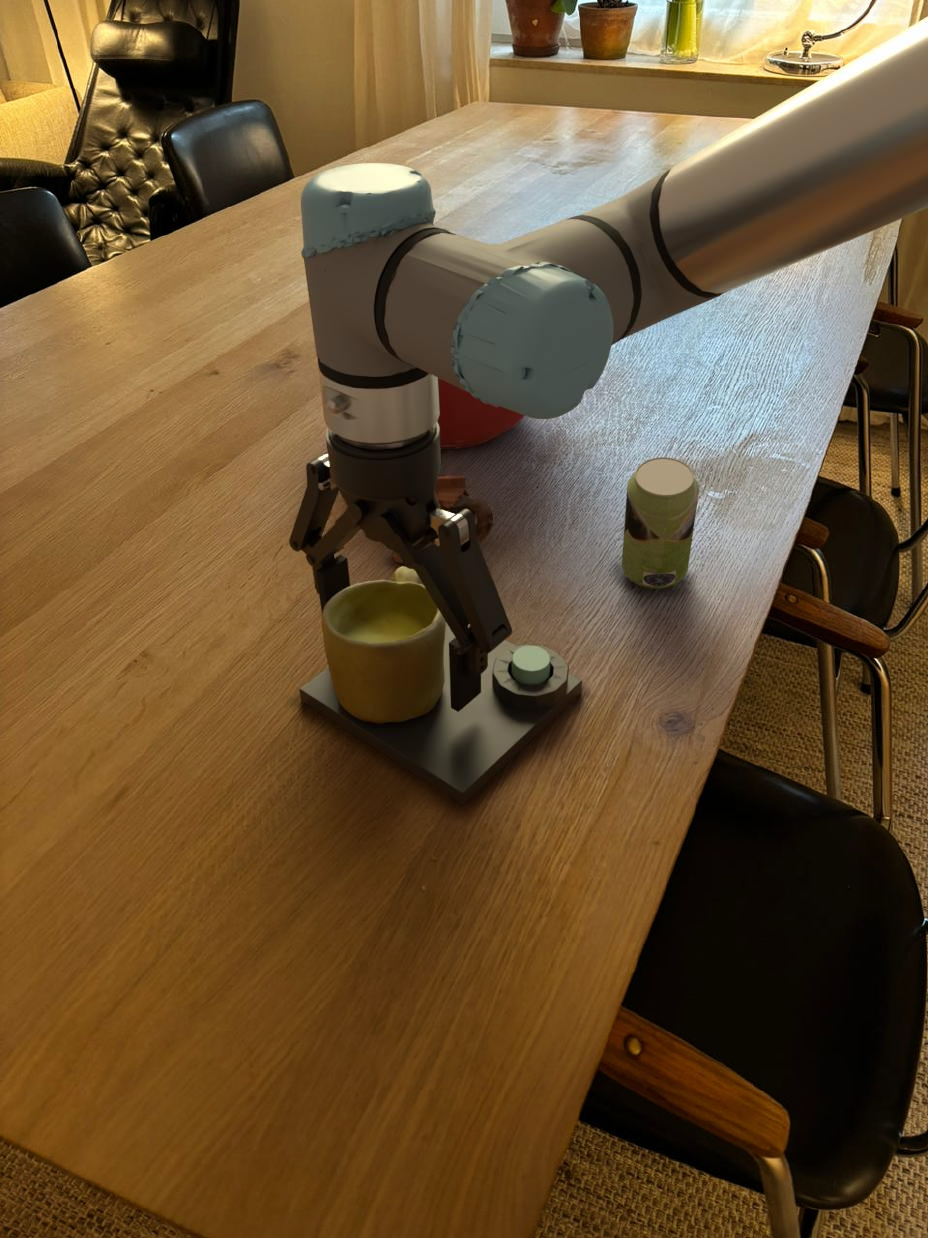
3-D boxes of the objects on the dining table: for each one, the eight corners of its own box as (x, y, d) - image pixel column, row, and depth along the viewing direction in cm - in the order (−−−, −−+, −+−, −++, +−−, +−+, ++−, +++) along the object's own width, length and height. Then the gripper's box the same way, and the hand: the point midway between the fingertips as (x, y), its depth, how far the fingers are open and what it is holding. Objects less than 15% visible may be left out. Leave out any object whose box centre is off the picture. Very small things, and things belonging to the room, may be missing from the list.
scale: (581, 692, 80) (583, 665, 78) (463, 806, 71) (462, 778, 70) (424, 608, 89) (422, 582, 87) (300, 701, 80) (296, 673, 78)
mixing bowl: (309, 381, 123) (293, 256, 113) (529, 353, 128) (533, 231, 118) (346, 503, 102) (331, 363, 92) (607, 464, 107) (620, 327, 97)
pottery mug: (363, 563, 95) (361, 476, 93) (418, 554, 103) (417, 474, 101) (472, 570, 88) (471, 477, 87) (521, 561, 96) (522, 475, 95)
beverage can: (686, 558, 94) (705, 447, 86) (685, 607, 88) (704, 493, 81) (620, 551, 95) (632, 441, 87) (614, 599, 89) (627, 486, 82)
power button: (557, 670, 78) (558, 656, 77) (534, 691, 77) (535, 676, 76) (526, 654, 80) (527, 640, 79) (503, 674, 78) (504, 660, 77)
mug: (429, 745, 72) (396, 619, 68) (316, 737, 77) (280, 619, 73) (500, 667, 81) (475, 553, 78) (396, 664, 86) (368, 558, 83)
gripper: (214, 389, 69) (259, 622, 83) (496, 514, 57) (494, 764, 70) (294, 351, 73) (324, 579, 87) (571, 460, 61) (555, 706, 75)
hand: (400, 662), depth 79 cm, fingers open, 13 cm apart
